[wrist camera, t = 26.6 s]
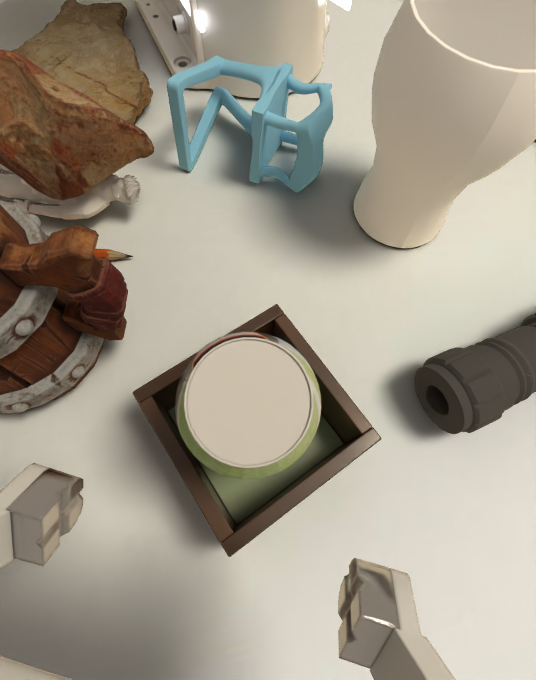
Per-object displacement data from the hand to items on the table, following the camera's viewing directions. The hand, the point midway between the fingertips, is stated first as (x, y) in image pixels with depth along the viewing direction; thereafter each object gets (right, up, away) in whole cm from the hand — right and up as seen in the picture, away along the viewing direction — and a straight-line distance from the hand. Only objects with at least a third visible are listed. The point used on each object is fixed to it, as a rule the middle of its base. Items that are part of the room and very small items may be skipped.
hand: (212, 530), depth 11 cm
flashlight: (+19, +3, +18) cm, 27 cm away
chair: (-5, +26, +21) cm, 34 cm away
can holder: (+1, 0, +15) cm, 15 cm away
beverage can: (0, 0, +15) cm, 15 cm away
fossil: (-12, +36, +24) cm, 45 cm away
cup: (+13, +17, +22) cm, 31 cm away
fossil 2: (-17, +18, +12) cm, 27 cm away
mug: (-14, +6, +17) cm, 22 cm away
